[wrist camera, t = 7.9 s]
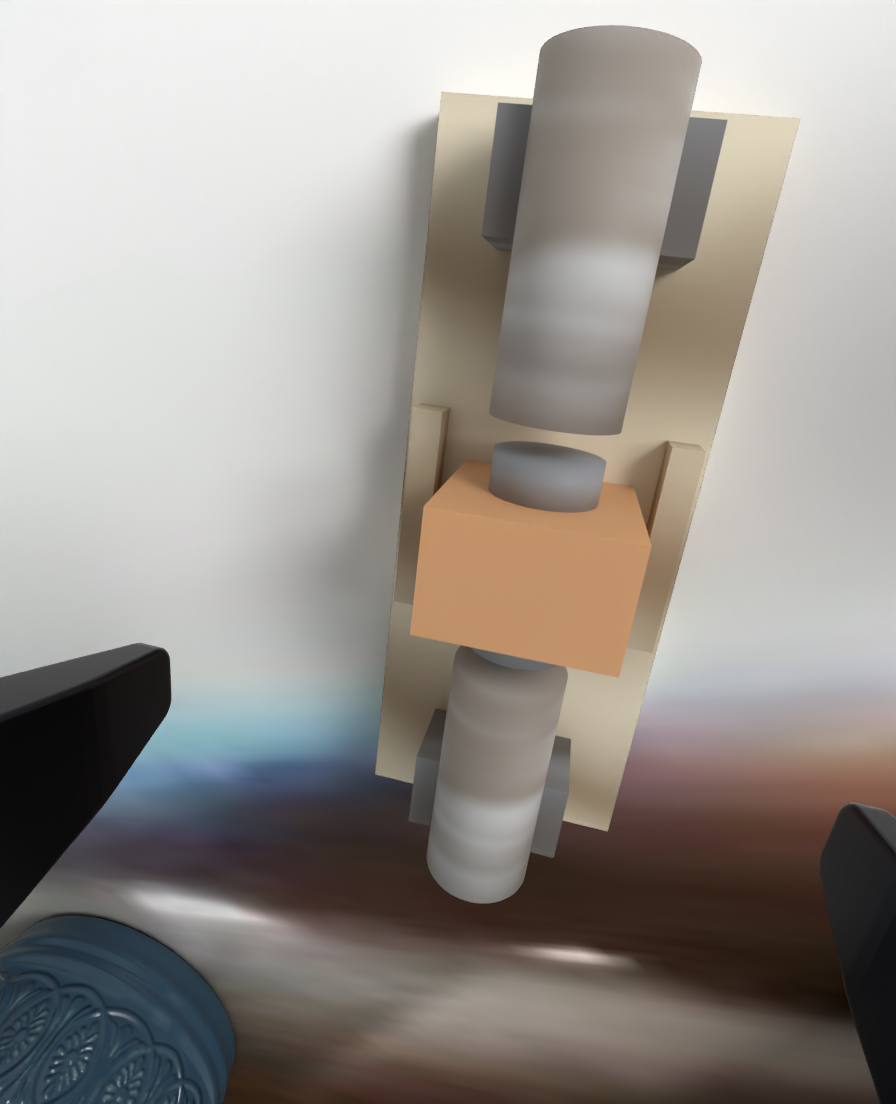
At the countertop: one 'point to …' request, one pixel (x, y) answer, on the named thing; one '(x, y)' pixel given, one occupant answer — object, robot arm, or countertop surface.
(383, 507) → the countertop surface
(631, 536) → the coupling
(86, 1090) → the canister
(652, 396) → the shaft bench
